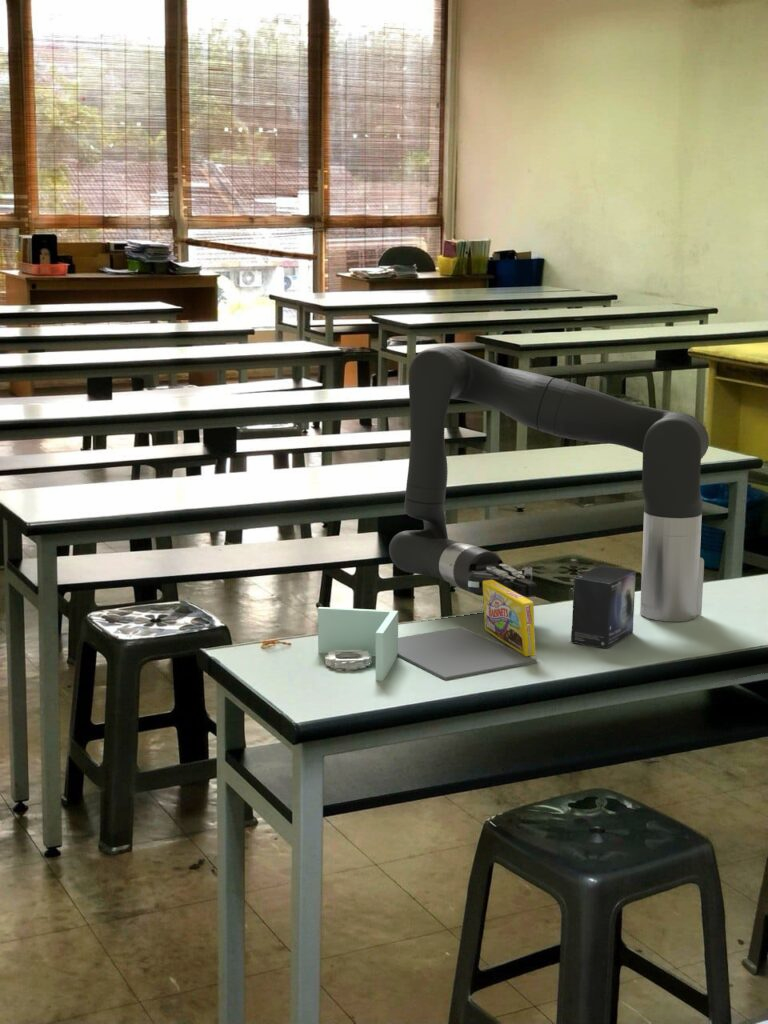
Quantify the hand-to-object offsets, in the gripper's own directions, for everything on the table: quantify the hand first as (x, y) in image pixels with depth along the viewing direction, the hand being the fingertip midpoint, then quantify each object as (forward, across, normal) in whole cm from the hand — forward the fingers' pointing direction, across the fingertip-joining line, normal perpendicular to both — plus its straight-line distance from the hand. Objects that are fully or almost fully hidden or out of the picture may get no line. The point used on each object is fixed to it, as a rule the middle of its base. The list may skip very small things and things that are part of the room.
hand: (533, 590), depth 207 cm
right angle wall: (-1, -32, +8) cm, 33 cm away
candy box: (+2, -6, +7) cm, 10 cm away
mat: (+2, -16, +7) cm, 17 cm away
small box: (+7, +9, +8) cm, 13 cm away
